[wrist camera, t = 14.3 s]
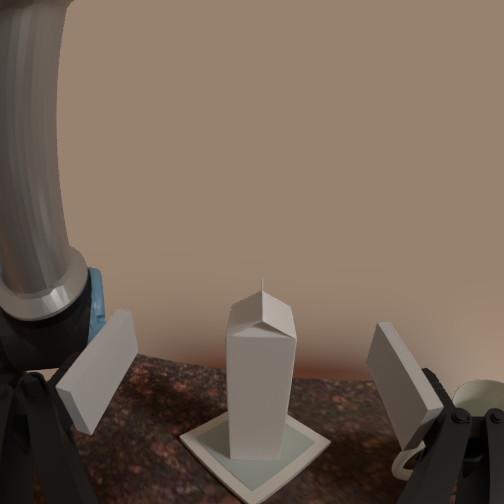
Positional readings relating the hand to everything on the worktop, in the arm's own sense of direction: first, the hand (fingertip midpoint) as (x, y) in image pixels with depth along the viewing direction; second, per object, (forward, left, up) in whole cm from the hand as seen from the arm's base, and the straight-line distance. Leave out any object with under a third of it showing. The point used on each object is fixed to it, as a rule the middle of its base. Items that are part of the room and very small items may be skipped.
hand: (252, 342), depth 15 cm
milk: (-7, +8, -24) cm, 26 cm away
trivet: (-7, +8, -25) cm, 27 cm away
